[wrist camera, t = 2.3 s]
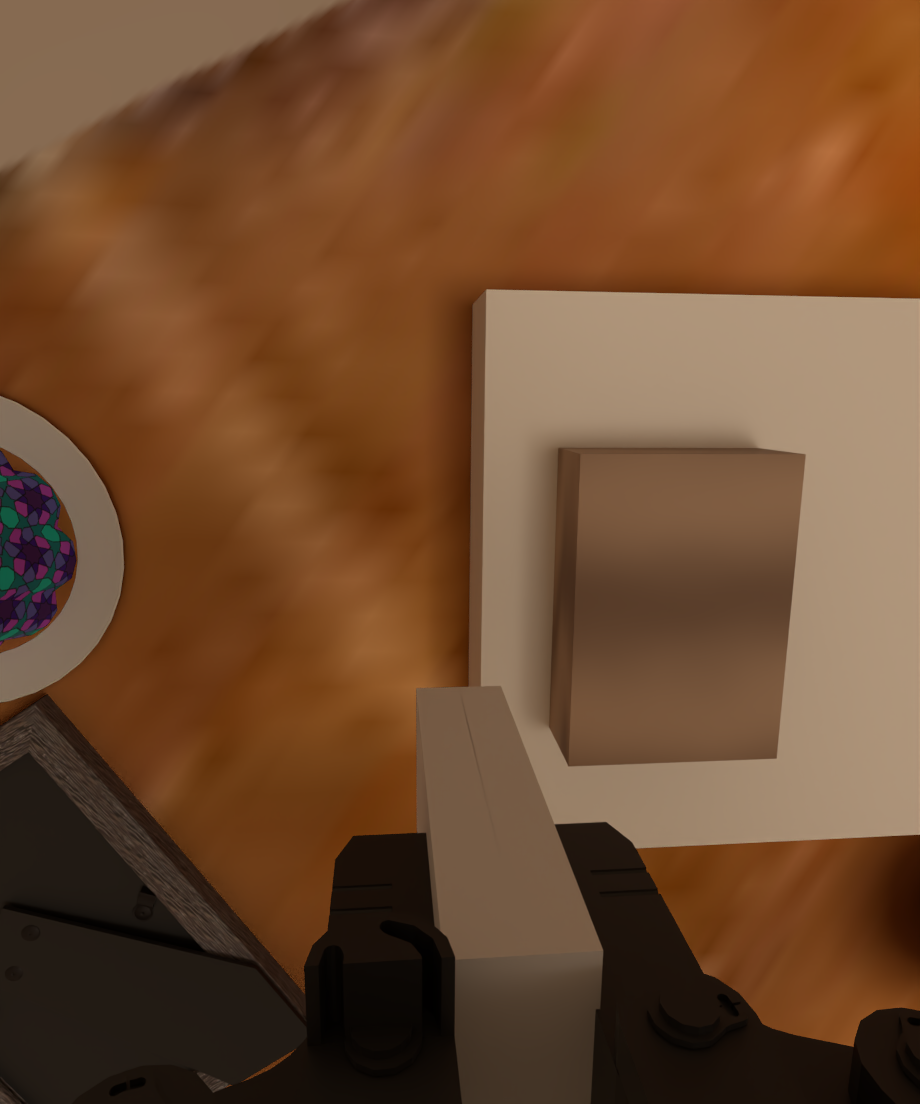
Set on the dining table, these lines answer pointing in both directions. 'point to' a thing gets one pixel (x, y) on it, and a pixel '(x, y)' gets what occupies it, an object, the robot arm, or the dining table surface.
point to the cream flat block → (822, 548)
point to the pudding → (51, 554)
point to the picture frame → (116, 935)
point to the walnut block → (672, 602)
